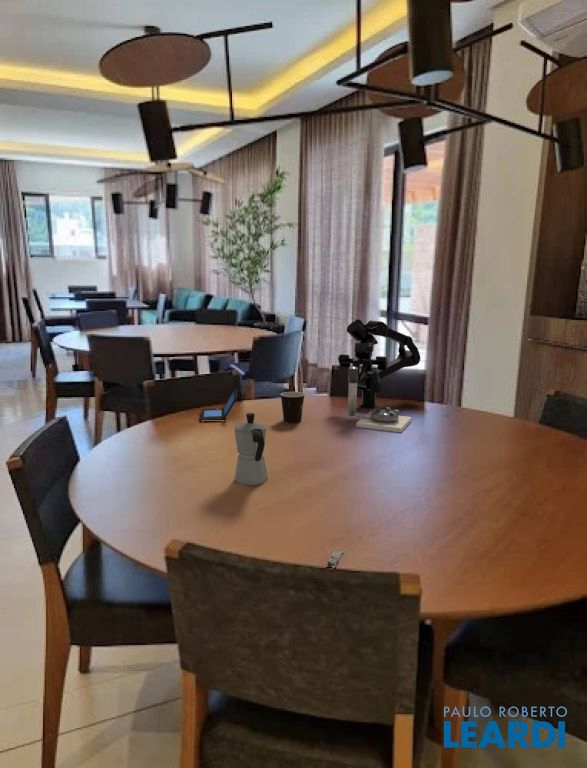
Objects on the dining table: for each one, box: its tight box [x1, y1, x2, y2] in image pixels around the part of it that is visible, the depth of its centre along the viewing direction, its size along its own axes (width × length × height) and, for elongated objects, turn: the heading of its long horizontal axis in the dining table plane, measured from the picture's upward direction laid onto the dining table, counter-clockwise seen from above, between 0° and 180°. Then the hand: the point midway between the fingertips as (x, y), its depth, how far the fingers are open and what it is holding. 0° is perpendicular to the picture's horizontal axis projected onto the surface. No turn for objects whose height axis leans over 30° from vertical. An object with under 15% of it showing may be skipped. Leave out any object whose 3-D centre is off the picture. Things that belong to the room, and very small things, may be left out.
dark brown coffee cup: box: [280, 391, 305, 424], centre depth 196 cm, size 12×9×10 cm
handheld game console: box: [200, 388, 238, 421], centre depth 203 cm, size 16×13×9 cm
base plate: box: [355, 412, 412, 433], centre depth 195 cm, size 16×16×2 cm
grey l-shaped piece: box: [347, 366, 400, 422], centre depth 194 cm, size 10×19×18 cm, turn 65°
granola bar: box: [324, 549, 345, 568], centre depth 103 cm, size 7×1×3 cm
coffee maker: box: [233, 412, 269, 487], centre depth 139 cm, size 15×9×18 cm, turn 23°
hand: (358, 380), depth 206 cm, fingers closed
